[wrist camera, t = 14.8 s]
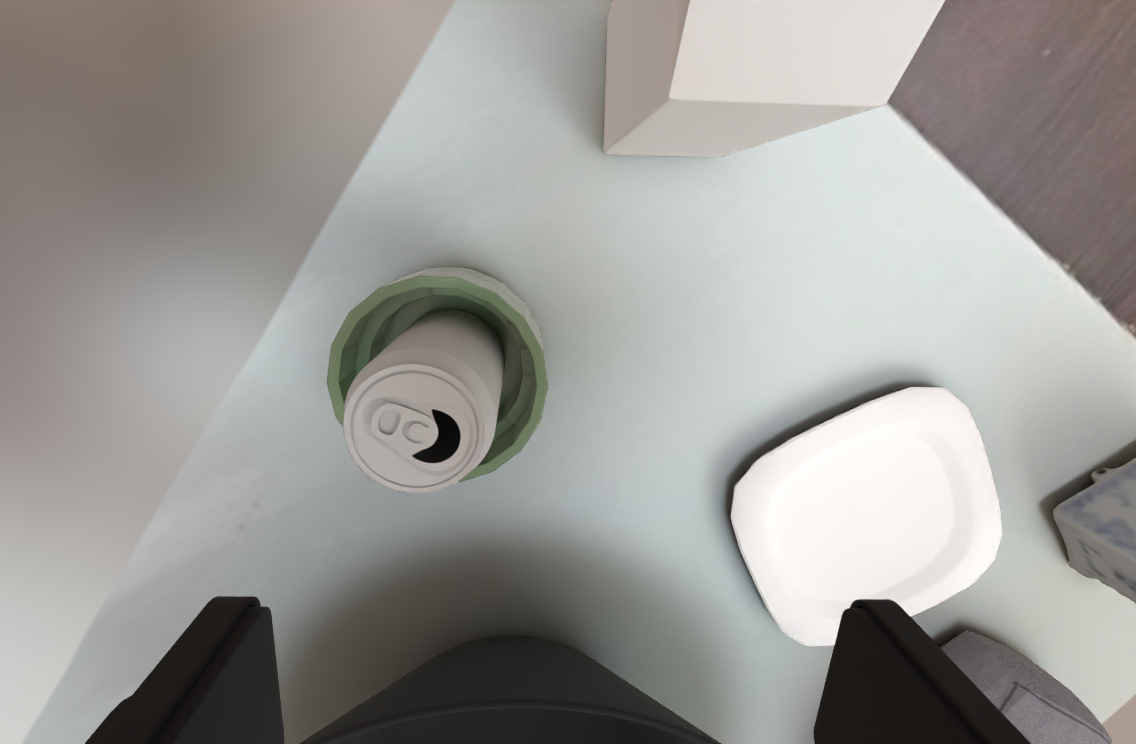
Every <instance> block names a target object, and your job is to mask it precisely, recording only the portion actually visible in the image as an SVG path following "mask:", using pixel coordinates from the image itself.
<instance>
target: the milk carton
mask: <svg viewBox="0 0 1136 744" xmlns="http://www.w3.org/2000/svg"><path fill="white" fill-rule="evenodd" d="M944 1H945V0H613V3H612V5H611V8H610V10H609V13H608V19H607V51H606V84H605V116H604V149H603V152H604V154H610V155H643V156H683V157H723V156H726V155H729V154H732V153H736V152H739V151H742V150H745V149H748V148H751V147H754V146H758V145H761V144H764V143H767V142H770V141H773V140H776V139H780V138H783V137H786V136H789V135H792V134H795V133H798V132H802V131H805V130H808V129H811V128H814V127H817V126H820V125H823V124H827V123H830V122H833V121H836V120H839V119H842V118H845V117H849V116H852V115H855V114H858V113H861V112H864V111H867V110H871V109H874V108H877V107H880V106H883V105H885V104H886V103H887V101H888V99H889V98H890V96H891V94H892V92H893V91H894V89H895V87H896V85H897V84H898V82H899V80H900V78H901V77H902V75H903V73H904V71H905V70H906V68H907V66H908V64H909V63H910V61H911V59H912V57H913V56H914V54H915V52H916V50H917V49H918V47H919V45H920V43H921V42H922V40H923V38H924V36H925V35H926V33H927V31H928V29H929V28H930V26H931V24H932V22H933V21H934V19H935V17H936V15H937V14H938V12H939V10H940V8H941V7H942V5H943V3H944Z"/></svg>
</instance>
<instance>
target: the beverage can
mask: <svg viewBox="0 0 1136 744" xmlns="http://www.w3.org/2000/svg"><path fill="white" fill-rule="evenodd" d="M504 369H505V356H504V351H503V347H502V345H501V342H500V340H499V338H498V336H497V335H496V333H495V332H494V331H493V329H492V328H491V327H490V326H489V325H488V324H487V323H486V322H484V321H483V320H482V319H480V318H479V317H477V316H475V315H473V314H470V313H468V312H464V311H460V310H450V309H448V310H439V311H434V312H431V313H429V314H426V315H424V316H422V317H421V318H419V319H418V320H416V321H415V322H414V323H413V324H412V325H411V326H409V327H408V328H407V329H406V330H405V331H404V332H403V333H402V334H401V335H400V336H398V337H397V338H396V339H395V340H394V341H393V342H392V343H391V344H390V345H388V346H387V347H386V348H385V349H384V350H383V351H382V352H381V353H380V354H379V355H377V356H376V357H375V358H374V359H373V360H372V361H371V362H370V363H369V364H367V365H366V366H365V367H364V368H363V369H362V370H361V371H360V372H359V374H358V375H357V376H356V378H355V379H354V380H353V382H352V384H351V386H350V388H349V390H348V393H347V396H346V400H345V405H344V422H343V430H344V437H345V441H346V445H347V448H348V450H349V452H350V454H351V456H352V458H353V460H354V461H355V462H356V464H357V465H358V466H359V467H360V469H361V470H362V471H363V472H364V473H365V474H366V475H368V476H369V477H370V478H371V479H373V480H374V481H376V482H377V483H379V484H381V485H383V486H385V487H387V488H390V489H393V490H396V491H399V492H405V493H413V494H421V493H430V492H435V491H439V490H442V489H445V488H447V487H449V486H451V485H453V484H454V483H456V482H457V481H459V480H460V479H462V478H463V477H464V476H466V475H467V474H468V473H469V472H470V471H472V470H473V469H474V468H475V467H476V466H477V465H478V464H479V463H480V462H481V461H482V460H483V458H484V457H485V456H486V454H487V452H488V450H489V448H490V446H491V444H492V441H493V438H494V434H495V428H496V422H497V415H498V409H499V402H500V396H501V389H502V383H503V376H504Z"/></svg>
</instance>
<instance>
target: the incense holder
mask: <svg viewBox="0 0 1136 744" xmlns="http://www.w3.org/2000/svg"><path fill="white" fill-rule="evenodd" d="M1091 478H1092V480H1093V481H1094V483H1095V484H1093V485H1091V486H1090V487H1088V488H1086V489H1085V490H1083V491H1081V492H1079V493H1077V494H1076V495H1074V496H1073V497H1071V498H1069V499H1067V500H1065V501H1064V502H1062V503H1060V504H1059V505H1058V506H1057V507H1056V508H1055V509H1054V510H1053V517H1054V519H1055V521H1056V524H1057V526H1058V528H1059V530H1060V532H1061V535H1062V537H1063V539H1064V543H1065V545H1066V547H1067V553H1068V557H1069V560H1070V564H1069V566H1070V567H1071V568H1073V569H1075V570H1076V571H1078V572H1079V573H1081V574H1082V575H1084V576H1086V577H1088V578H1092V579H1098V580H1100V581H1101V582H1102V583H1103V584H1105V585H1107V586H1109V587H1112V588H1114V589H1115V590H1116V591H1118V593H1120V594H1122V595H1123V596H1125V597H1127V598H1129V599H1130V600H1132V601H1134V602H1135V603H1136V458H1134V459H1133V460H1131V461H1130V462H1128V463H1126V464H1125V465H1123V466H1121V467H1118V468H1115V469H1107V468H1103V469H1100V470H1096V471H1093V472H1092V474H1091Z"/></svg>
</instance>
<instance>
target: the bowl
mask: <svg viewBox="0 0 1136 744" xmlns="http://www.w3.org/2000/svg"><path fill="white" fill-rule="evenodd" d="M300 744H721V743H719V742H718V741H716V740H715V739H713V738H712V737H710V736H709V735H707V734H706V733H704V732H703V731H701V730H699V729H698V728H696V727H695V726H693V725H692V724H690V723H689V722H687V721H686V720H684V719H683V718H681V717H680V716H678V715H677V714H675V713H674V712H672V711H670V710H669V709H667V708H666V707H664V706H663V705H661V704H660V703H658V702H657V701H655V700H654V699H652V698H651V697H649V696H648V695H646V694H645V693H643V692H641V691H640V690H638V689H637V688H635V687H634V686H632V685H631V684H629V683H628V682H626V681H625V680H623V679H622V678H620V677H619V676H617V675H616V674H614V673H612V672H611V671H609V670H608V669H606V668H605V667H603V666H602V665H600V664H599V663H597V662H596V661H594V660H593V659H591V658H589V657H588V656H586V655H584V654H582V653H581V652H579V651H577V650H575V649H573V648H570V647H568V646H565V645H563V644H560V643H557V642H553V641H549V640H545V639H541V638H535V637H526V636H500V637H491V638H485V639H480V640H476V641H472V642H469V643H466V644H463V645H460V646H457V647H454V648H452V649H450V650H447V651H445V652H443V653H441V654H439V655H438V656H436V657H434V658H432V659H431V660H429V661H427V662H426V663H424V664H423V665H421V666H420V667H418V668H416V669H415V670H413V671H412V672H410V673H409V674H407V675H406V676H404V677H402V678H401V679H399V680H398V681H396V682H395V683H393V684H392V685H390V686H388V687H387V688H385V689H384V690H382V691H381V692H379V693H378V694H376V695H374V696H373V697H371V698H370V699H368V700H367V701H365V702H364V703H362V704H360V705H359V706H357V707H356V708H354V709H353V710H351V711H350V712H348V713H346V714H345V715H343V716H342V717H340V718H339V719H337V720H336V721H334V722H332V723H331V724H329V725H328V726H326V727H325V728H323V729H322V730H320V731H318V732H317V733H315V734H314V735H312V736H311V737H309V738H308V739H306V740H304V741H303V742H301V743H300Z"/></svg>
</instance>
